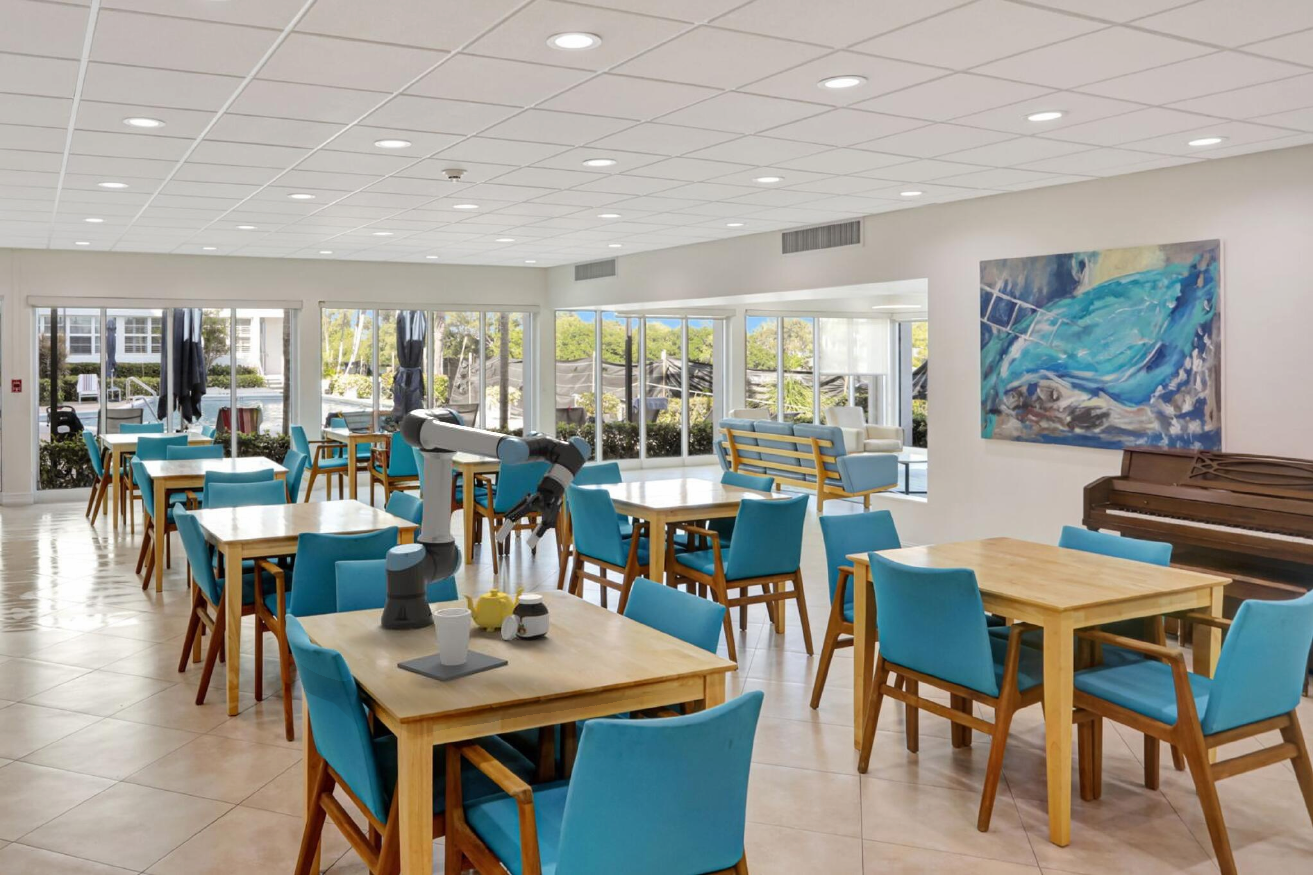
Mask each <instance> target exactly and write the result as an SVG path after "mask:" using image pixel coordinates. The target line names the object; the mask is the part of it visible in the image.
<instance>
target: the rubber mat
mask: <svg viewBox="0 0 1313 875" xmlns="http://www.w3.org/2000/svg"><path fill="white" fill-rule="evenodd" d="M505 665H509V660H506V659H503V658H499V657H495V656H492V655H488V654H484V653H482V652H477V651H474V650H470V649H467V658H466V662H465V663H463V664H460V665H452V666H451V665H443V664H442V663H441V660H440V653H439V652H437V653H434V654H433V653H432V654H429V655H426V656H422V657H418V658H413V659H409V660H405V661H402V662H397V667H398V668H402V669H405V670H408V671H411V672H414V673H417V674H420V675H423V676H427V677H428V678H429V677H430V678H431V679H436V680H439V681H442V682H446V681H452V680H455V679H457V678H462V677H465V676H468V675H473V674H476V673H481V672H483V671H487V670H491V669H494V668H498V667H502V666H505Z"/></svg>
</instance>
